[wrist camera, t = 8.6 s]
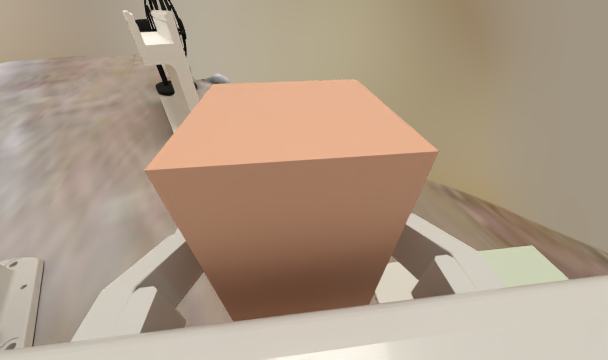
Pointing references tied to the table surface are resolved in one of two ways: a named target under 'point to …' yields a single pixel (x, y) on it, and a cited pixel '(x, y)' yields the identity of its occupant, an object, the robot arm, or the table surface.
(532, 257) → the sage slab
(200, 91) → the table surface
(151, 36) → the white stand
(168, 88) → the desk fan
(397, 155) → the terracotta block
